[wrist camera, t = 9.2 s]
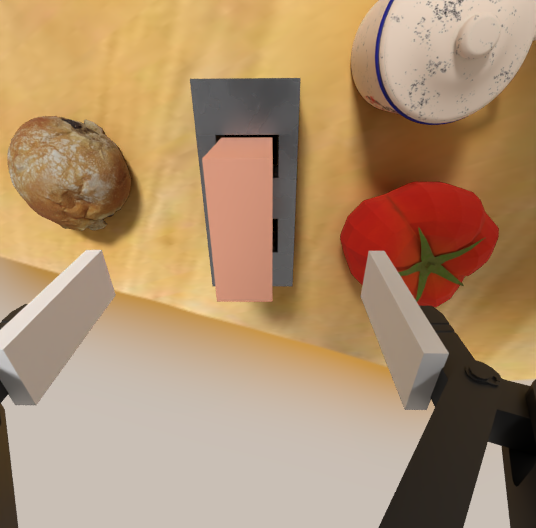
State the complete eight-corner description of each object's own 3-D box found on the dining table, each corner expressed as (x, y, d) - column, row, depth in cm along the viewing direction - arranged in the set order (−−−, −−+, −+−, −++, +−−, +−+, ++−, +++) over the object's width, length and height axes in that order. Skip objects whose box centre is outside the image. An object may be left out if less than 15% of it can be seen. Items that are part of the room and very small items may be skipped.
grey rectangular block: (203, 79, 27) (189, 78, 23) (295, 78, 27) (300, 78, 23) (219, 261, 36) (212, 286, 32) (289, 261, 36) (292, 286, 32)
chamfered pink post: (226, 132, 28) (202, 158, 18) (272, 132, 28) (272, 158, 18) (233, 237, 33) (216, 301, 23) (272, 237, 32) (272, 301, 23)
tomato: (334, 285, 38) (350, 337, 30) (331, 180, 32) (350, 211, 24) (454, 273, 37) (502, 323, 29) (475, 162, 31) (543, 188, 23)
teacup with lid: (348, 121, 29) (389, 142, 19) (345, -6, 24) (397, -69, 14) (485, 100, 28) (607, 109, 18) (509, -37, 24) (687, -128, 13)
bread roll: (148, 145, 34) (119, 116, 26) (130, 240, 34) (97, 241, 26) (50, 121, 33) (-11, 84, 25) (33, 220, 33) (-31, 214, 25)
